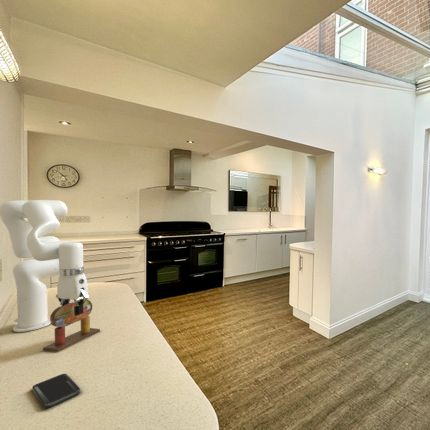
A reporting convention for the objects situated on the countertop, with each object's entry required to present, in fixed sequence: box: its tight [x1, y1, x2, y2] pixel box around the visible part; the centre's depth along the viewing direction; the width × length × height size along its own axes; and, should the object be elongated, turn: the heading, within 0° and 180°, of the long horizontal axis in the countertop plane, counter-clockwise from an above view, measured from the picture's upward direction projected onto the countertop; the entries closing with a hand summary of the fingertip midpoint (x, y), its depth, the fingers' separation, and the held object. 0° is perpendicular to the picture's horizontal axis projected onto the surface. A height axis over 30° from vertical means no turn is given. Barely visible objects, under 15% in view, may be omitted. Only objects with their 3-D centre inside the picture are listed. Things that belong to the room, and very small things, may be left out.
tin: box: [49, 299, 93, 328], centre depth 112 cm, size 15×3×8 cm, turn 172°
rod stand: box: [42, 315, 101, 353], centre depth 112 cm, size 7×17×8 cm, turn 172°
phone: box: [32, 373, 81, 409], centre depth 82 cm, size 8×1×15 cm
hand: (72, 313), depth 112 cm, fingers open, 5 cm apart
